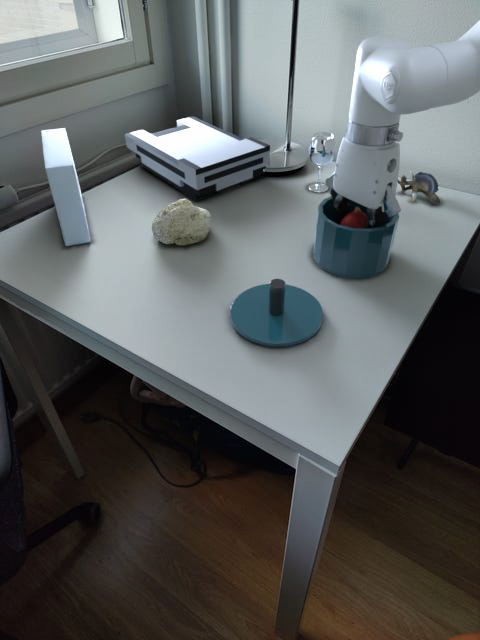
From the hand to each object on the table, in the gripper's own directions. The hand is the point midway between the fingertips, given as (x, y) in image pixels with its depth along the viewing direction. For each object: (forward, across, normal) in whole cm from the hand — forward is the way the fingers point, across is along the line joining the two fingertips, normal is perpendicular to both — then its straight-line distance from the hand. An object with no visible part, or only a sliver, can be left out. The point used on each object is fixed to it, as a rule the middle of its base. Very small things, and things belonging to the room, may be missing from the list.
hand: (354, 233), depth 83 cm
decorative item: (+5, +26, +20) cm, 33 cm away
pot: (+5, 0, 0) cm, 5 cm away
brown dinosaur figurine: (+5, +6, -29) cm, 30 cm away
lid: (+5, -4, +22) cm, 23 cm away
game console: (+5, +51, 0) cm, 51 cm away
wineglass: (+5, +24, -16) cm, 29 cm away
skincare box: (+5, +47, +34) cm, 58 cm away
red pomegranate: (+3, 0, 0) cm, 3 cm away
